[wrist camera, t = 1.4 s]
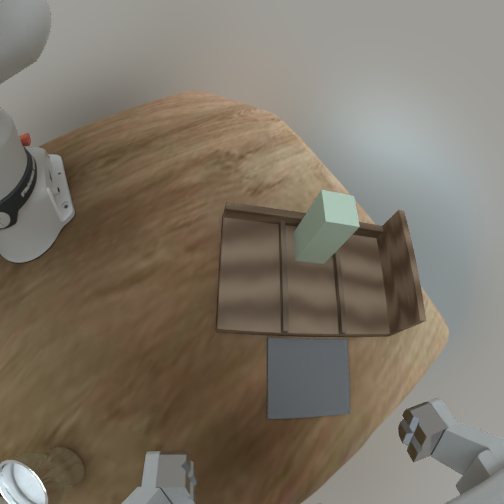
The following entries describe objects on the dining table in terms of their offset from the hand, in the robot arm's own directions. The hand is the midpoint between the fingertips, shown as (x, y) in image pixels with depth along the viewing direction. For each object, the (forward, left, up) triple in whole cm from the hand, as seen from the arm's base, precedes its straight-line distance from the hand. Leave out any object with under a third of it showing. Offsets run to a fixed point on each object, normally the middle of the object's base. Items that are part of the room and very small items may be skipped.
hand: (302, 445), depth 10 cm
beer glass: (+4, -23, -34) cm, 41 cm away
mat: (0, +15, -34) cm, 37 cm away
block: (-19, +22, -32) cm, 43 cm away
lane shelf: (-15, +21, -34) cm, 42 cm away
